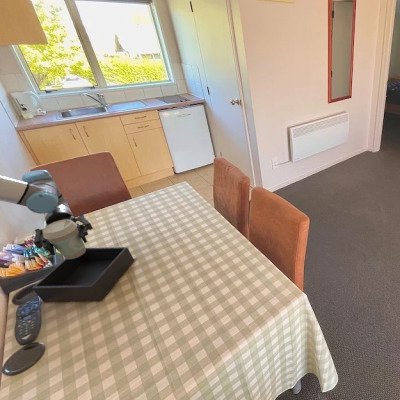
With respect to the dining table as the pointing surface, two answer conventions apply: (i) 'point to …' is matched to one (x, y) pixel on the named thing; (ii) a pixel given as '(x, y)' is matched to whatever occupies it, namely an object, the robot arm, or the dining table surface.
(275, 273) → the dining table surface
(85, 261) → the shallow black tray
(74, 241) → the coffee cup
